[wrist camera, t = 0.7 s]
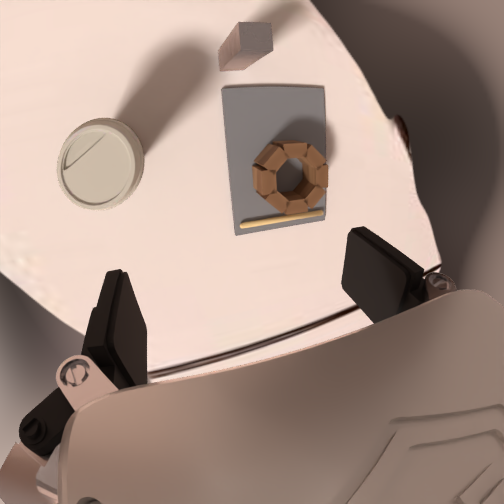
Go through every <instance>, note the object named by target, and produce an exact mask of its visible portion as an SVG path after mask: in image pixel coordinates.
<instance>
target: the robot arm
mask: <svg viewBox="0 0 504 504" xmlns="http://www.w3.org/2000/svg"><path fill="white" fill-rule="evenodd" d="M423 272H424V269H423V268H422V267H421V266H419V265H418V264H417V263H415V262H414V261H413V260H411V259H410V258H409V257H407V256H406V255H404V254H403V253H402V252H400V251H399V250H398V249H396V248H395V247H393V246H392V245H391V244H389V243H388V242H386V241H385V240H383V239H382V238H381V237H379V236H378V235H376V234H375V233H373V232H372V231H370V230H369V229H367V228H366V227H364V226H362V227H356V228H352V229H351V231H350V232H349V233H348V237H347V245H346V253H345V261H344V268H343V274H342V281H341V284H342V288H343V290H344V291H345V292H346V293H347V294H348V295H349V296H350V297H351V298H352V300H353V301H354V302H355V303H356V304H357V305H358V306H359V307H360V308H361V309H362V311H363V312H364V313H365V314H366V315H367V316H368V317H369V318H370V320H371V321H372V322H373V323H374V324H372V325H370V326H367V327H364V328H362V329H359V330H356V331H353V332H351V333H348V334H345V335H342V336H339V337H337V338H334V339H331V340H328V341H325V342H322V343H319V344H315V345H312V346H309V347H306V348H303V349H299V350H296V351H293V352H289V353H286V354H282V355H279V356H275V357H271V358H268V359H264V360H260V361H256V362H252V363H248V364H244V365H240V366H236V367H231V368H227V369H222V370H218V371H213V372H208V373H203V374H198V375H193V376H188V377H182V378H177V379H171V380H166V381H160V382H155V383H149V384H147V328H146V324H145V322H144V319H143V316H142V314H141V311H140V308H139V305H138V303H137V300H136V297H135V294H134V291H133V288H132V285H131V282H130V279H129V276H128V274H127V272H123V271H122V270H121V269H118V270H113V271H108V272H107V273H106V276H105V279H104V283H103V286H102V289H101V292H100V296H99V299H98V303H97V307H94V308H93V310H92V312H91V316H90V320H89V323H88V327H87V331H86V335H85V339H84V344H83V348H82V353H81V355H76V356H72V357H70V358H68V359H67V360H65V361H64V362H63V363H62V364H61V365H60V367H59V368H58V370H57V374H56V380H57V383H58V386H59V387H58V388H57V389H56V390H54V391H53V392H52V393H51V394H50V395H49V396H48V397H47V398H45V399H44V400H43V401H42V402H41V403H40V404H39V405H37V406H36V407H35V408H34V409H33V410H32V411H31V412H30V413H28V414H27V415H26V416H25V417H24V418H23V420H22V422H21V424H20V427H19V437H20V439H21V442H20V443H19V444H17V443H15V444H14V446H13V447H12V449H11V451H10V453H9V455H8V456H7V458H6V460H5V462H4V464H3V465H2V467H1V469H0V498H1V499H2V500H3V502H4V503H5V504H504V307H503V306H502V305H501V304H499V303H498V302H497V301H496V300H495V299H493V298H492V297H490V296H489V295H488V294H486V293H485V292H483V291H479V290H472V289H469V290H459V291H457V290H456V287H455V284H454V282H453V281H452V280H451V278H449V277H448V276H446V275H444V274H441V273H437V272H432V273H429V274H427V275H426V277H425V279H423V278H422V276H423Z"/></svg>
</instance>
